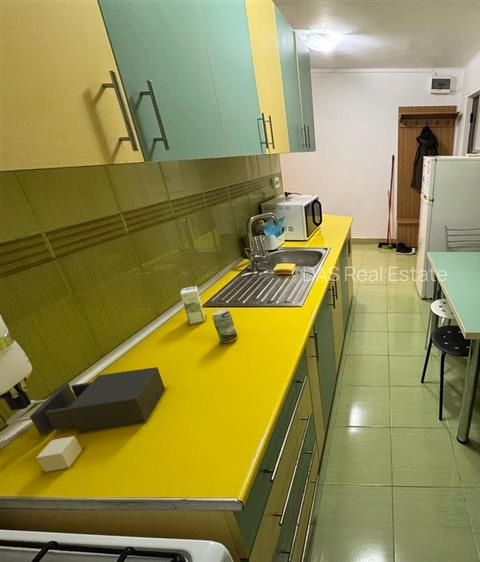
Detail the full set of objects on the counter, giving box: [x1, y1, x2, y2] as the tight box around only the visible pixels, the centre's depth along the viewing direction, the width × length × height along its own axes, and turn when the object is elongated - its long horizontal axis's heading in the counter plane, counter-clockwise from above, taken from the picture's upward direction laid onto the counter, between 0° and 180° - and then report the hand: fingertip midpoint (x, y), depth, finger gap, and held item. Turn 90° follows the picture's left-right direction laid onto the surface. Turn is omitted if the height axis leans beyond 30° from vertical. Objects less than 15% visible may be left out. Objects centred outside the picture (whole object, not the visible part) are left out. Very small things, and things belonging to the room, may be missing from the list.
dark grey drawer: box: [5, 381, 93, 436], centre depth 79 cm, size 21×11×6 cm, turn 103°
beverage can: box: [211, 308, 238, 344], centre depth 112 cm, size 6×7×12 cm
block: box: [35, 435, 83, 473], centre depth 68 cm, size 4×4×4 cm
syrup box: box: [180, 285, 205, 326], centre depth 125 cm, size 6×6×14 cm
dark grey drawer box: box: [67, 366, 166, 435], centre depth 81 cm, size 15×13×8 cm
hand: (21, 407), depth 76 cm, fingers closed
